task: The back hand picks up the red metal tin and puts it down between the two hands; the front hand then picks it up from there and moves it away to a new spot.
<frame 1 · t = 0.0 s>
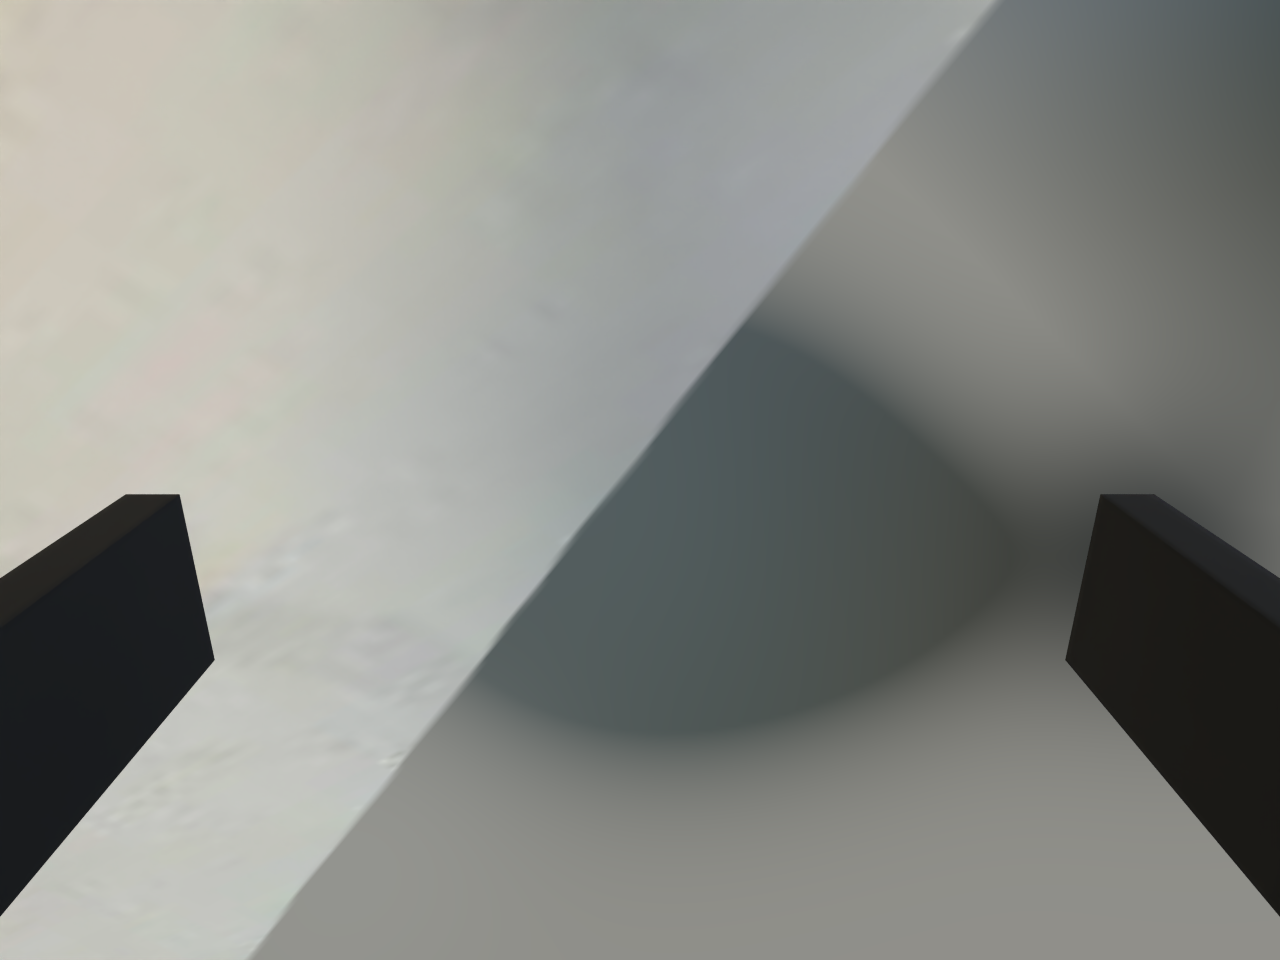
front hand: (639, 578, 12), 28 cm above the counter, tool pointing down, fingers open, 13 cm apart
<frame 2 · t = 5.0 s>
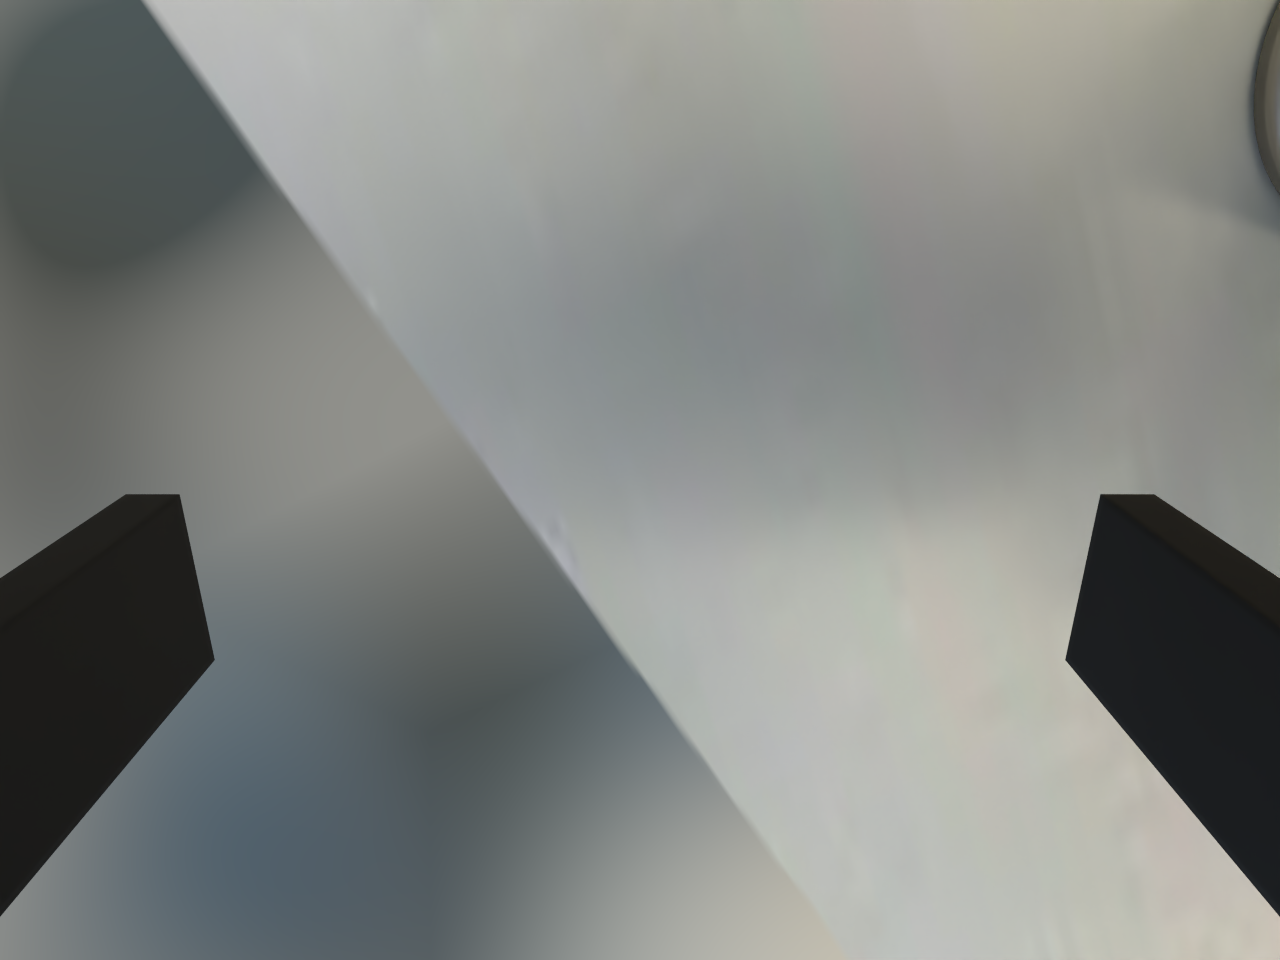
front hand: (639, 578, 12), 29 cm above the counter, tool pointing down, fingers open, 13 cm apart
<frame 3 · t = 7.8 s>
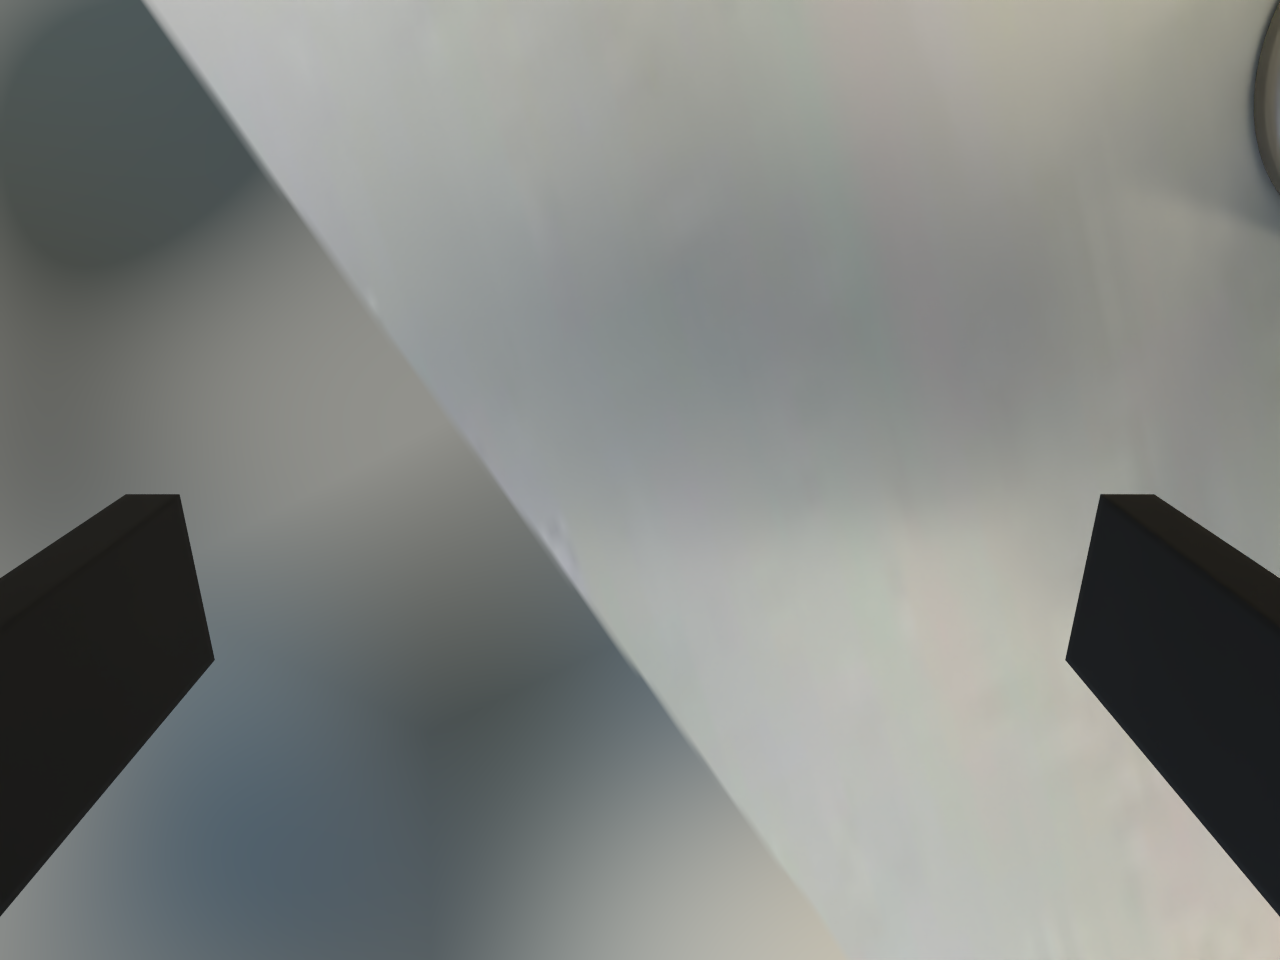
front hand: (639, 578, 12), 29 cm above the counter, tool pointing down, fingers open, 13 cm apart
when the back hand's fingers open (3 cm above the counter, at t = 10.9 s): tin drops 1 cm, on the counter.
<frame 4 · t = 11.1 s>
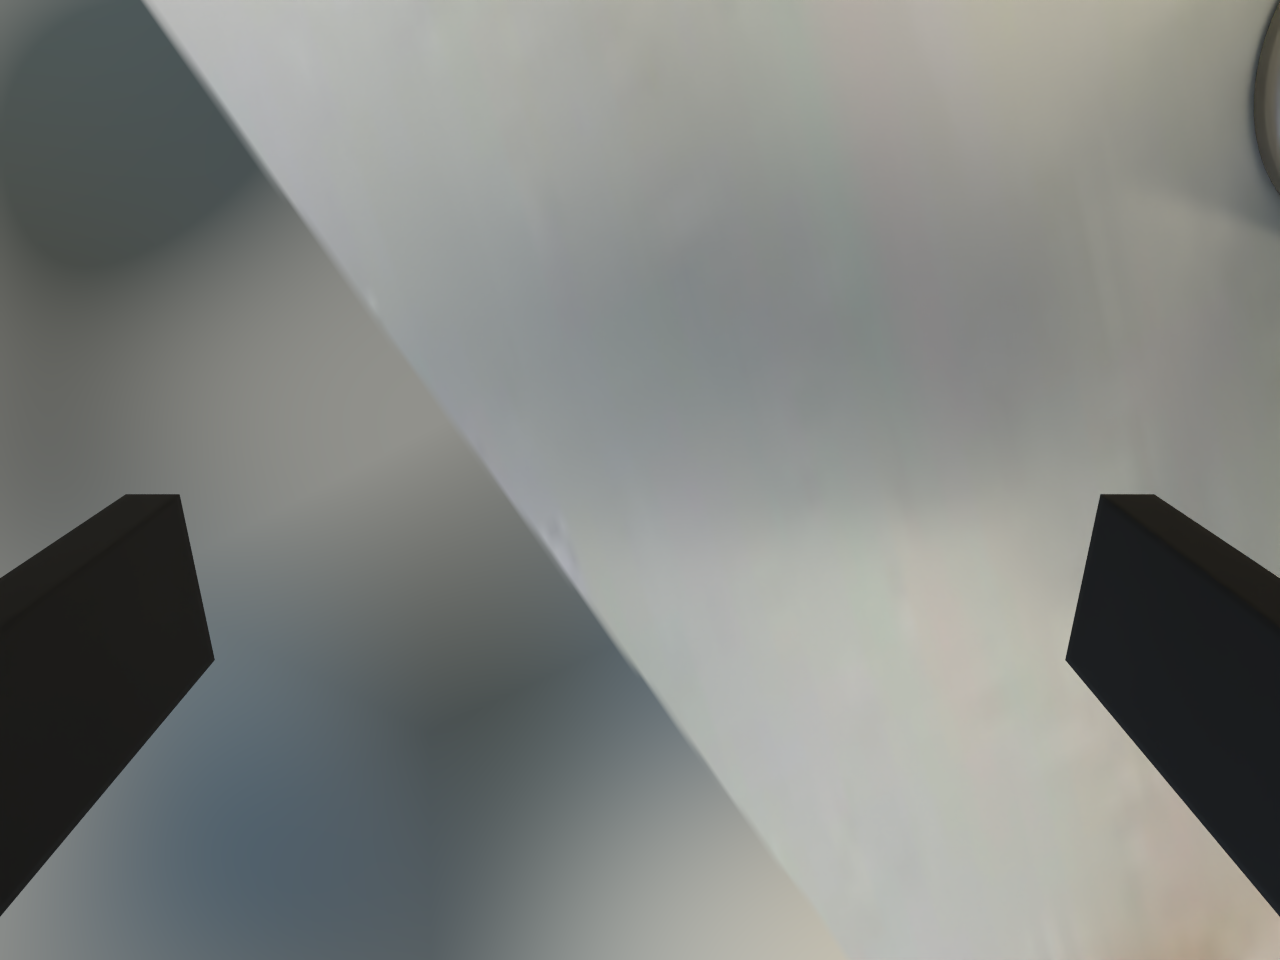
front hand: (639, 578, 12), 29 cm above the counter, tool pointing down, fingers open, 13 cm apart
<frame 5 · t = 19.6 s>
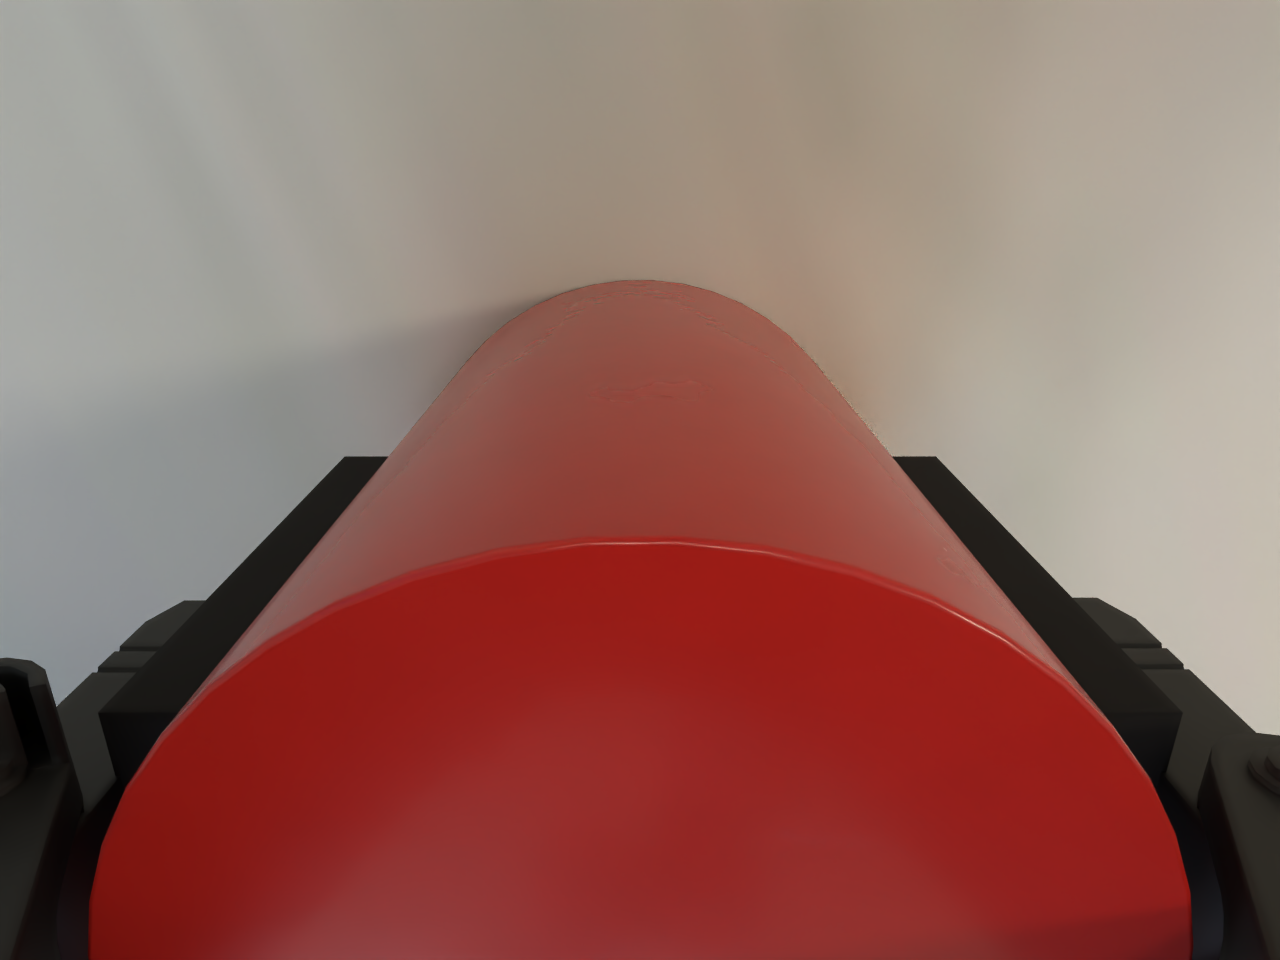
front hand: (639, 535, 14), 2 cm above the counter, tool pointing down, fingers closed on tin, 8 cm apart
tin: (640, 496, 15), on the counter, touching front hand
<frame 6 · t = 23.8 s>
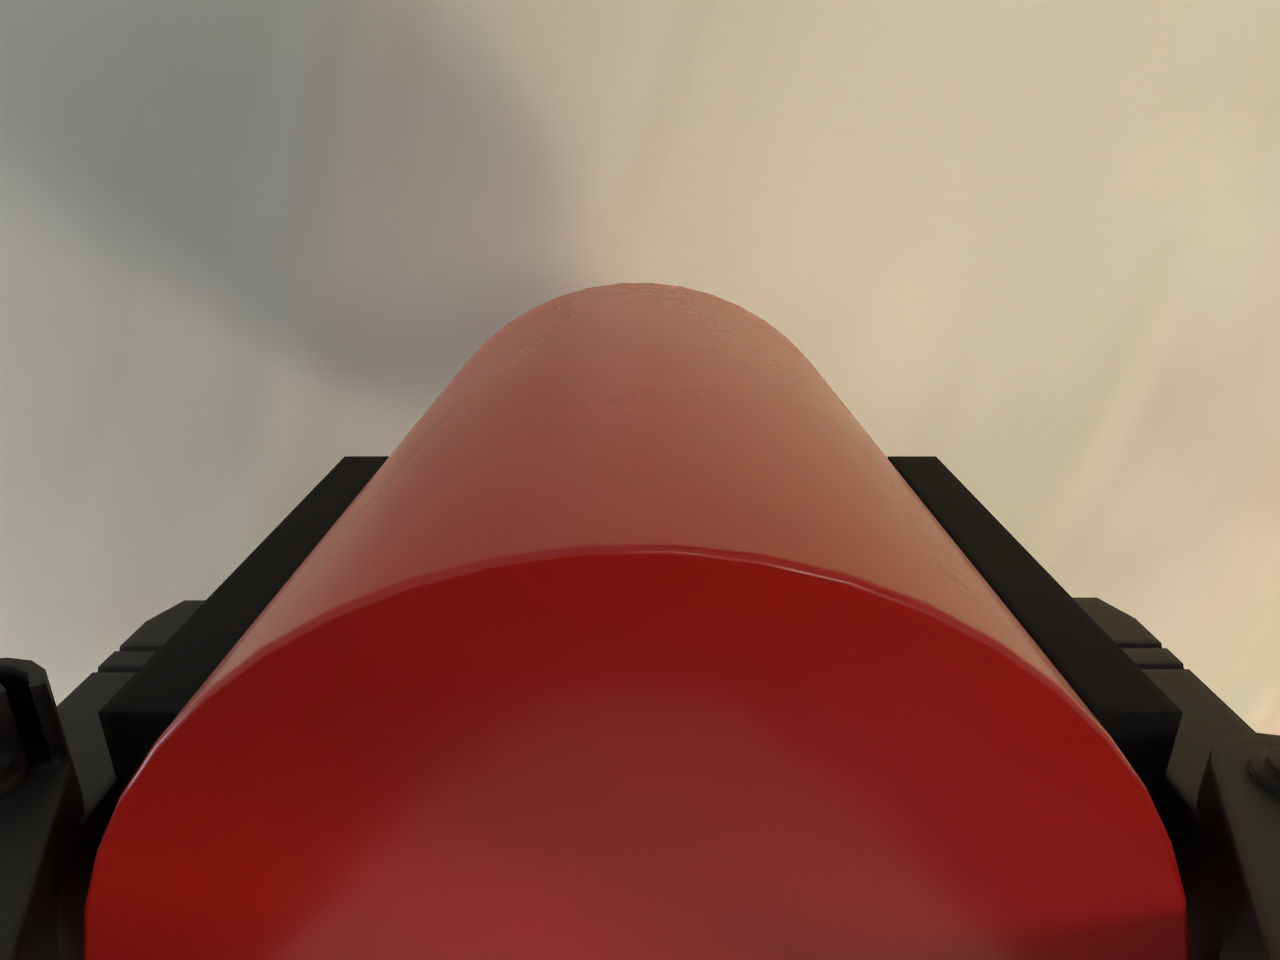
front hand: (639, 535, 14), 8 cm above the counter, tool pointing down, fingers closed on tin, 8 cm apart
tin: (638, 499, 15), point 6 cm above the counter, touching front hand
when the front hand's fingers open (3 cm above the counter, at t = 28.1 s): tin drops 2 cm, on the counter.
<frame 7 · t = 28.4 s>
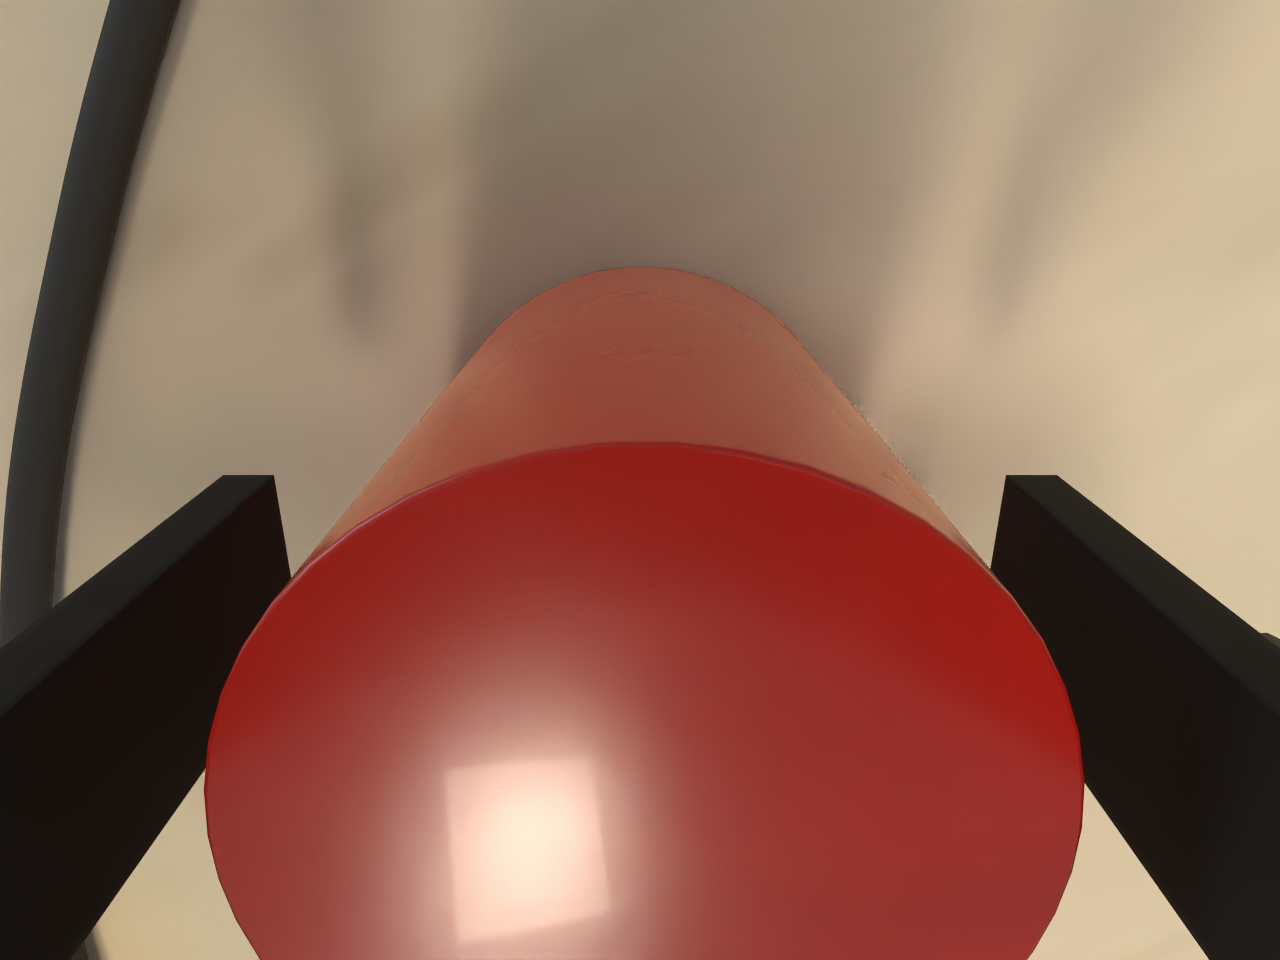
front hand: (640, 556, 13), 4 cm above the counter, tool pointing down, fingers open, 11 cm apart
tin: (641, 465, 17), on the counter
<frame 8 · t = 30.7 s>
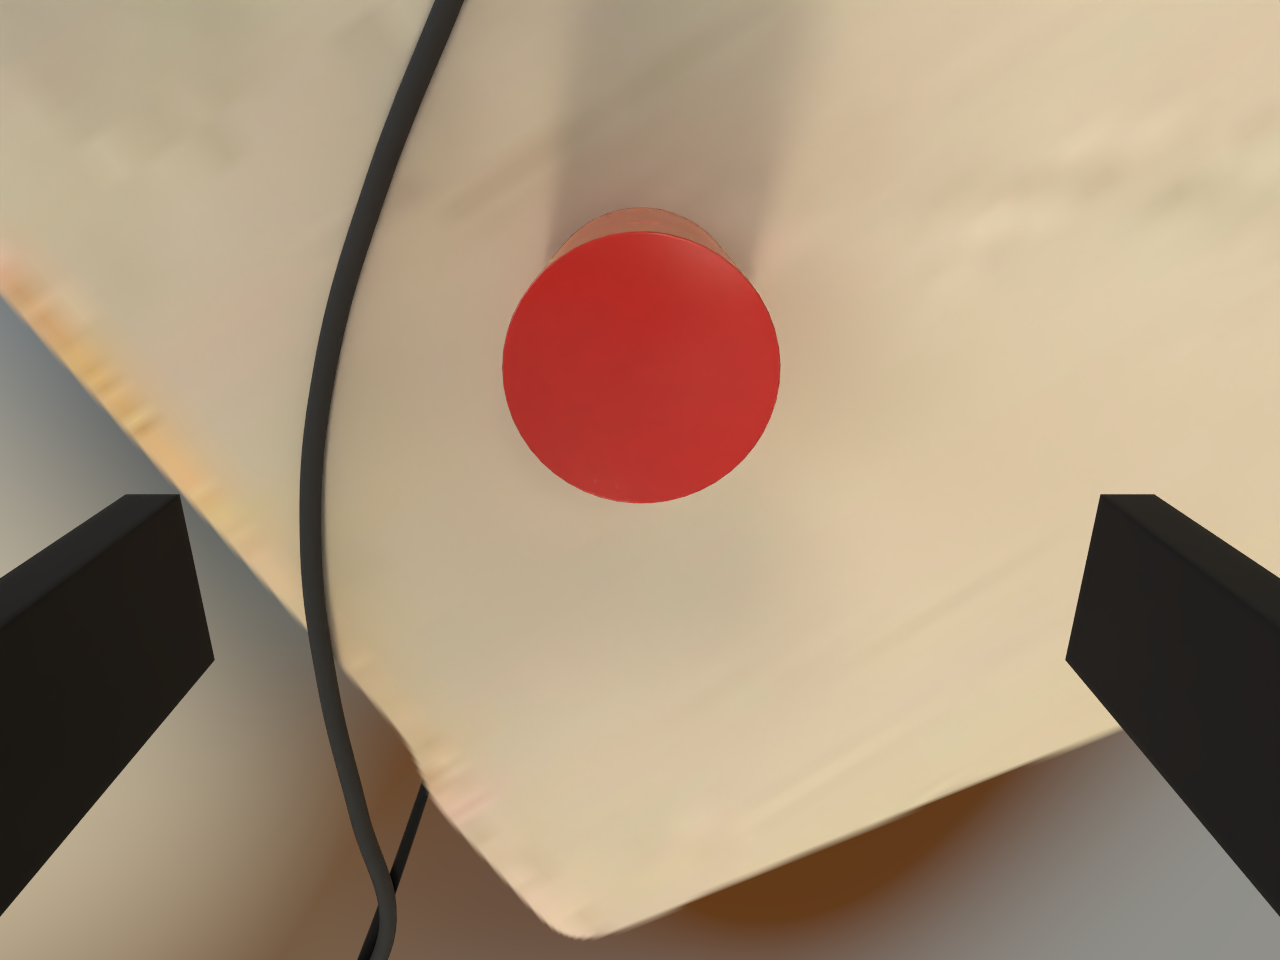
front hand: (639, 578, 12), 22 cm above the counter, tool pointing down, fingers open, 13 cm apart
tin: (640, 312, 33), on the counter
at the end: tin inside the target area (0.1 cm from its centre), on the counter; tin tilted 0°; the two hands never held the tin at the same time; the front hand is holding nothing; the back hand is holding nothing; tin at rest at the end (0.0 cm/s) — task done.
